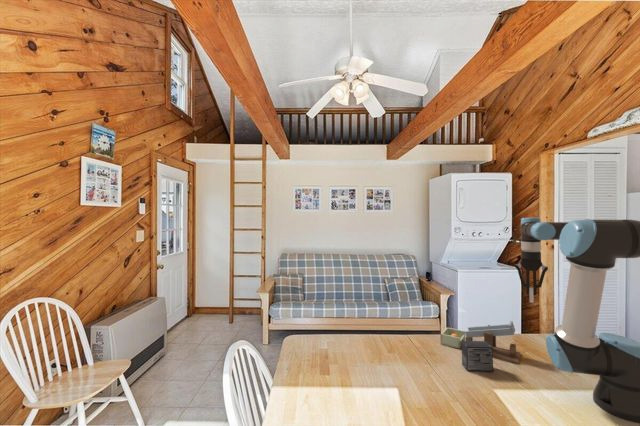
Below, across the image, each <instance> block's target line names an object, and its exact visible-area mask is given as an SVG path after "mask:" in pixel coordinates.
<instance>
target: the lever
mask: <svg viewBox="0 0 640 426" xmlns="http://www.w3.org/2000/svg"><path fill="white" fill-rule="evenodd" d="M464 331H465V330H464ZM484 332H490V333H493V336H496V337H501V336H502V337H503V336H514V335H515V333H516V328H515V324H514V323H513V320H509V323H508V324H507V323H506V324H495V325H493V324H492V325H491V326H488V325H482V326H481V325H480V326H479V325H478V326H470V327H469V326H468V327H467V330H466V331H465V338H466V337H467V338H470V337H473V338H482V337H483V338H484Z"/></svg>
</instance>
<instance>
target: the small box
mask: <svg viewBox="0 0 640 426" xmlns="http://www.w3.org/2000/svg"><path fill="white" fill-rule="evenodd" d="M493 359H494V358H493V347H492V346H491V345H490V344H489V343H488V342H487V341H484V340H473V341H466V340H465V341H462V350H461V365H462V366H463V369H465V371H466V372H473V373H474V372H476V373H478V372H479V373H480V372H481V373H494V360H493Z"/></svg>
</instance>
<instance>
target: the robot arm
mask: <svg viewBox="0 0 640 426" xmlns="http://www.w3.org/2000/svg"><path fill="white" fill-rule="evenodd" d="M549 240H550V241H552V240H553V241H559V242H558V244H559V250H560V252H561V254H562V255H563V256H565V260H566V261H567V262H568V263H569V264H570V268H569V275H568V281H567V282H568V283H567V288H566V294H565V301H564V308H563V315H562V321H561V324H560V325H557V326H556V327H555V330H554V334H552V333H550V334H547V335H546V337H545V345H546V350H547V353H548V357H549V359H550V361H551V363H552V364H553V366H554V367H555V368H556V369H557V370H559V371H561V372H567V373H571V374H575V373H576V374H582V375H583V374H584V375H593V376H599V379H598V381H597V383H596V385H595V386H594V389H593V391H592V400H593V402H594V404H596V406H598V407H599V408H600V409H602V410H603V411H605V412H607V413H608V414H611V415H614V416H616V417H618V418H621V419H624V420H627V421H629V422H635V423H638V424H639V423H640V342H639V341H636V340H634V339H631V338H629V337H626V336H624V335H623V336H622V335H619V334H616V333H615V334H614V333H610V332H600V333H599V334H598V335H596V331H597V327H598V326H597V325H598V321H599V315H600V308H601V304H602V299H603V298H602V297H603V292H604V287H605V281H606V275H607V271H609V270H611V269H613V268H614V267H616V266H615V265H616V260H617V259H636V258H640V220H637V219H590V218H588V219H587V218H585V219H575V220H574V219H573V220H572V221H568V222H567V221H566V222H565V221H564V222H559V221H554V222H553V221H551V222H549V221H548V222H546V221H544V222H543V221H541V218H540V217H522V218H521V219H520V248H521V251H520V254H521V255H520V256H521V258H520V261H519V263H517V264H515V265H514V267H515V269H516V270H517V273H518V276H519V281H520V283H521V284H520V285H521V286H522V287H525V288H526V289H525V290H526V294H527V295H529V303H533V304H534V302H535V299H534V296H537V289H539V288H542V285H543V282H544V278H545V275H546V272H547V271H548V270H549V267H548V266H546V265H544V264H543V262H542V252H541V251H542V241H549ZM521 268H523V269H524V271H525V272H526V273H525V275H526V276H525V279H524V274H523V272H522V269H521ZM540 268H541V270H542V271H541V274H540V277H539V281H538V283H537V271H538V270H539V269H540ZM530 272H532V285H533V286H531V285H530V283H531V282H530V281H531V280H530V279H531V277H530ZM525 281H526V282H525Z"/></svg>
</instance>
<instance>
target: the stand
mask: <svg viewBox="0 0 640 426" xmlns="http://www.w3.org/2000/svg"><path fill="white" fill-rule="evenodd" d="M487 326H492V325H490V324H487ZM473 338H474V337H470V338H467V337H466V336H465V341H474V339H473ZM483 341H487V342H488V343H489V344H490V345H491V346H492V347H493V359H498V360H502V361H506V362H510V363H514V364H519V363H520V358H521V352H519V351H517V344H516V343H510V344H509V349H507V348H503V347H498V346H497V336H493V333H490V332H484V337H483ZM460 350H461V351H462V347H461V349H460Z"/></svg>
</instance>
